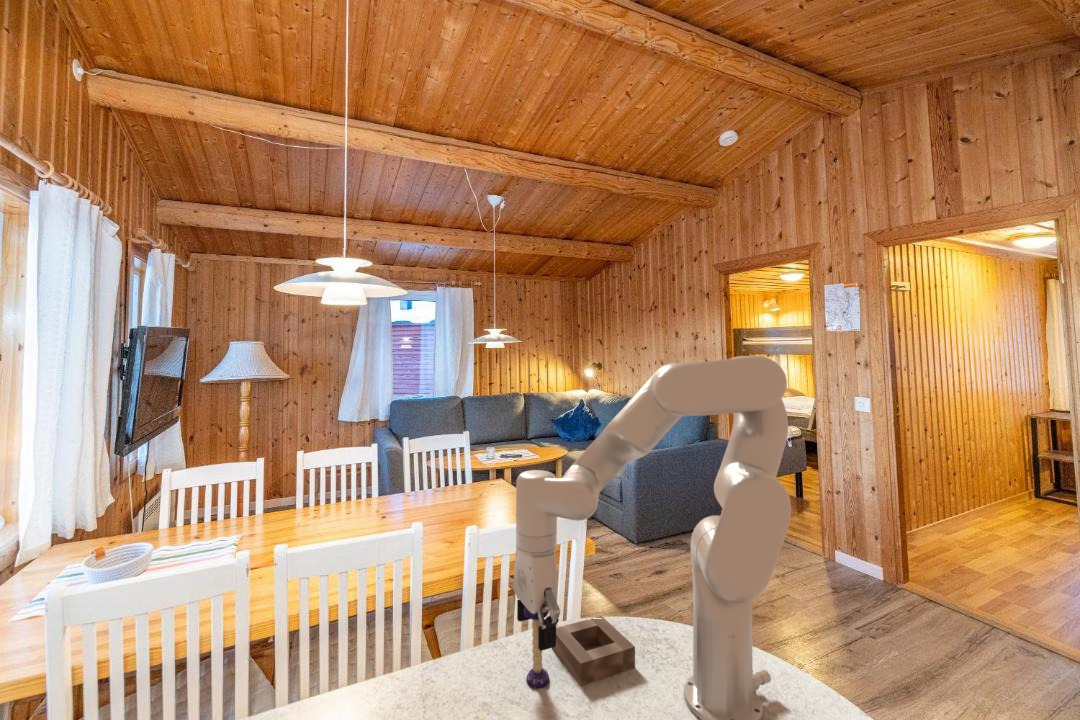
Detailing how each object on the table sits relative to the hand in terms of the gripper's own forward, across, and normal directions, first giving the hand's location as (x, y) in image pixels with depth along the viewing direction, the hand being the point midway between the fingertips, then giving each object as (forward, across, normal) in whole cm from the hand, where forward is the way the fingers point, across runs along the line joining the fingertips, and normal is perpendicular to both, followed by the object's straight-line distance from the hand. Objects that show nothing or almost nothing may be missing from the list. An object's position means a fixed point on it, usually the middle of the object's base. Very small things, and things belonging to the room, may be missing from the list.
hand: (535, 633), depth 85 cm
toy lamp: (+9, 0, 0) cm, 9 cm away
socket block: (+9, -2, +13) cm, 16 cm away
